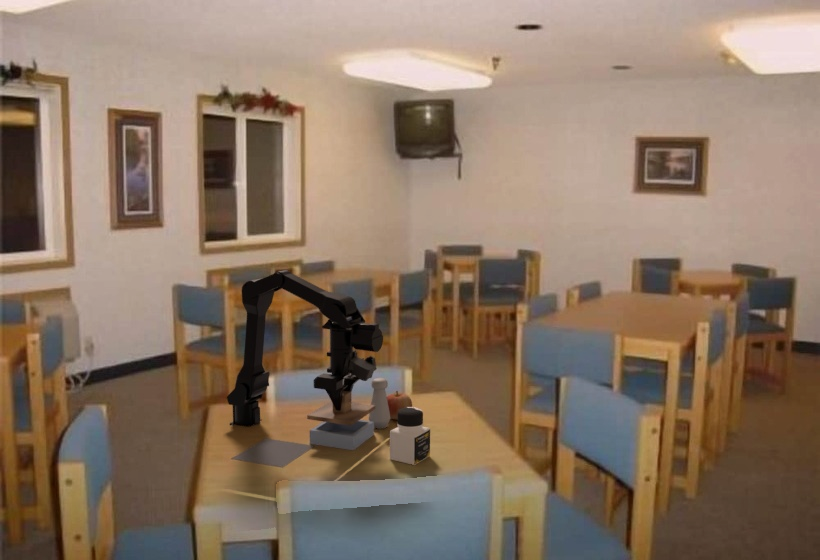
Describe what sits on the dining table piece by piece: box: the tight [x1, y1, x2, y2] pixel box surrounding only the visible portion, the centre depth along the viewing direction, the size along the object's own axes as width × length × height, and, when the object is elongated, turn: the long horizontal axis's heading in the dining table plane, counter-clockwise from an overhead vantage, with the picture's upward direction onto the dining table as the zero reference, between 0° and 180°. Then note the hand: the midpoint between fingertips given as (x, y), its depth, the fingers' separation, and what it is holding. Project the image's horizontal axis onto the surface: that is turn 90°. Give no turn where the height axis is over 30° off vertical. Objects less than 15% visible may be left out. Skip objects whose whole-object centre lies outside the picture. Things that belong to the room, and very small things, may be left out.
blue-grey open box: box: [309, 419, 375, 451], centre depth 193 cm, size 12×12×4 cm
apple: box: [386, 390, 413, 421], centre depth 211 cm, size 8×8×8 cm
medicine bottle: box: [389, 406, 431, 466], centre depth 182 cm, size 7×7×12 cm
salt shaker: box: [368, 377, 391, 430], centre depth 204 cm, size 6×6×13 cm
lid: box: [306, 391, 375, 425], centre depth 192 cm, size 12×14×6 cm
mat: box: [231, 438, 315, 468], centre depth 184 cm, size 14×15×1 cm
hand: (341, 408), depth 192 cm, fingers closed on lid, 3 cm apart
